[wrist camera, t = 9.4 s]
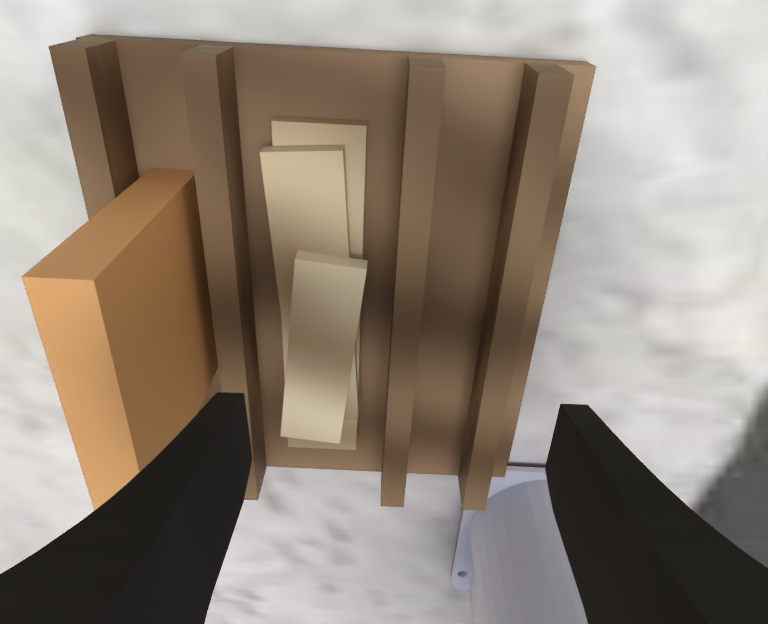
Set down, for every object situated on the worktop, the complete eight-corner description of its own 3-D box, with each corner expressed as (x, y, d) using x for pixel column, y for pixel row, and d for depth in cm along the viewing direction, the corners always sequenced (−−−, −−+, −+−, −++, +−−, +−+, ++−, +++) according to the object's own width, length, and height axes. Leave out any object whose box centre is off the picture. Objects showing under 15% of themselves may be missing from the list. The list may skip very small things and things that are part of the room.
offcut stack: (361, 439, 26) (359, 474, 24) (284, 435, 26) (276, 470, 24) (373, 120, 19) (371, 137, 17) (266, 115, 19) (252, 131, 17)
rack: (501, 461, 28) (511, 512, 25) (170, 445, 28) (148, 495, 25) (586, 61, 19) (617, 77, 16) (90, 34, 18) (41, 46, 16)
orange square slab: (221, 360, 24) (150, 519, 17) (182, 357, 24) (96, 516, 17) (198, 170, 20) (93, 280, 13) (151, 167, 20) (21, 276, 13)
